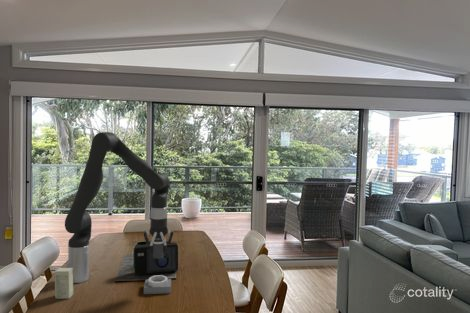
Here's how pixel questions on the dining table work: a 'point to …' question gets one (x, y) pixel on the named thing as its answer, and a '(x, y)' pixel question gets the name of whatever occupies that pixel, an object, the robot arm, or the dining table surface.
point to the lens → (158, 248)
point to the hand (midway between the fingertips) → (158, 252)
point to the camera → (155, 260)
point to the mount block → (157, 285)
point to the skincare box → (63, 283)
